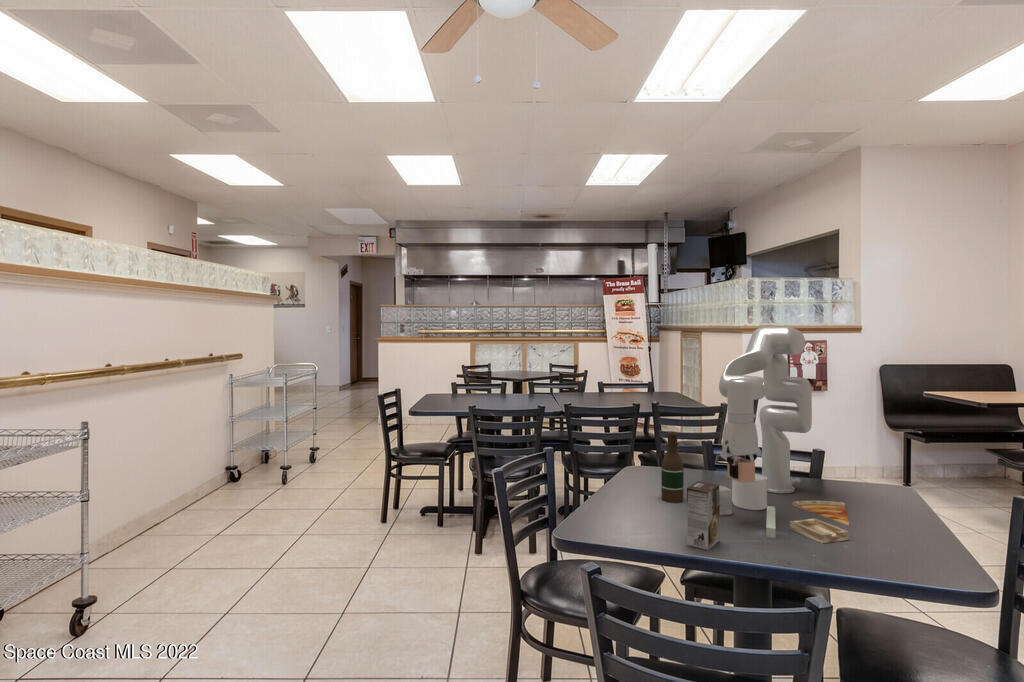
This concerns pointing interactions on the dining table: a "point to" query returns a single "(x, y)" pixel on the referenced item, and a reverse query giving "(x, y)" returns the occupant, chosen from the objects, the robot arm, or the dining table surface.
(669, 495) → the beer bottle
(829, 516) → the pizza slice
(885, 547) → the dining table surface
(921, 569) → the dining table surface
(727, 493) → the post
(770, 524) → the pale green bar
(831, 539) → the keyed cradle
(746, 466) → the block
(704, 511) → the coffee box
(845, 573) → the dining table surface
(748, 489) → the toilet tissue
